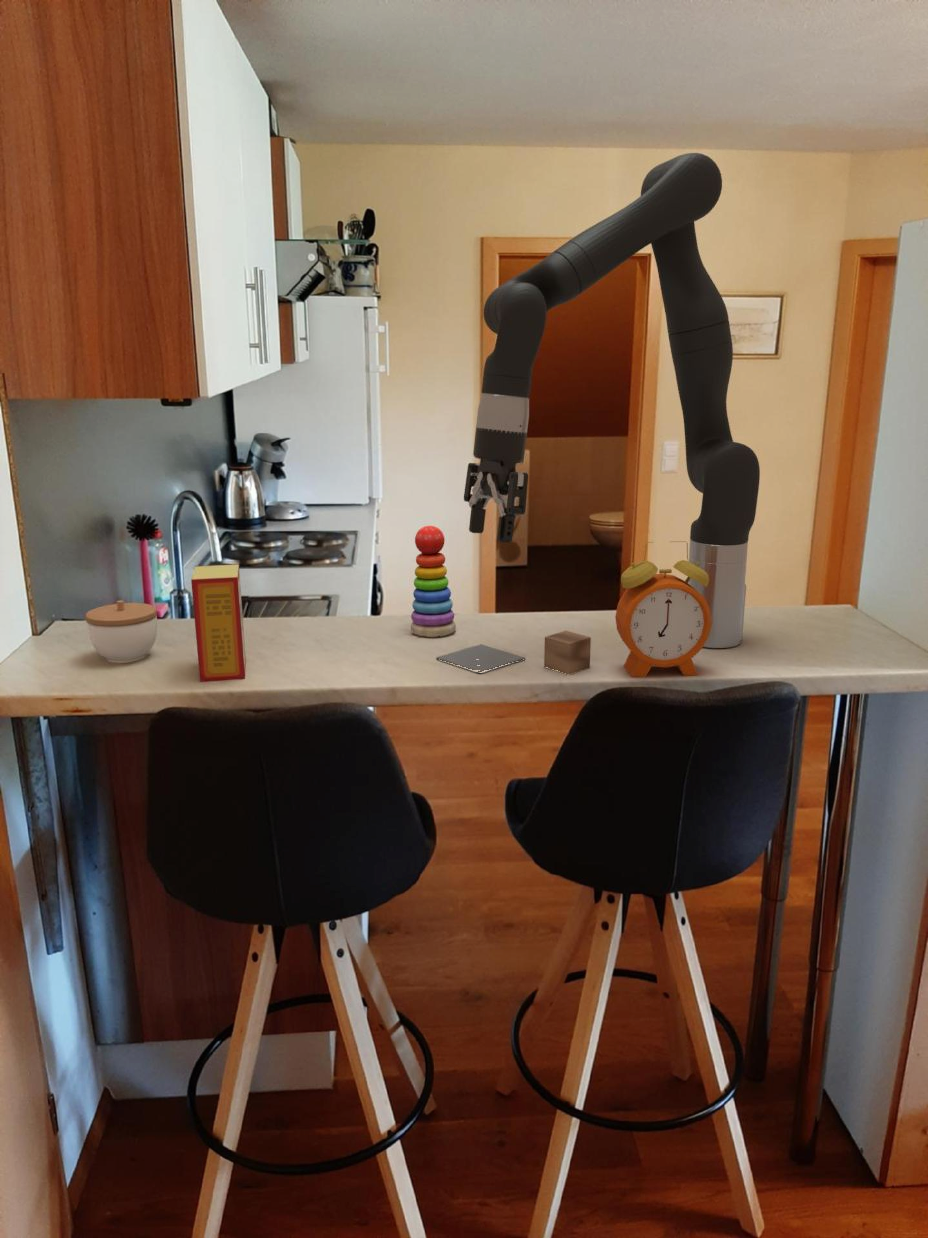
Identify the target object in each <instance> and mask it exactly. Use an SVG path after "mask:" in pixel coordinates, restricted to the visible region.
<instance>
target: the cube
mask: <svg viewBox="0 0 928 1238" xmlns="http://www.w3.org/2000/svg"><path fill="white" fill-rule="evenodd" d="M591 638H592V637H591V636H588V635H584V634H580V633H576V632H572V631H569V630H564V631H560V632H557V633H554V634H551V635H546V636H544V650H543V651H544V652H543V653H544V654H543V656H544V657H543V661H544V662H543V666H544V667H548V668H550V669H549V670H551V669H554V670H558V671H560V672H559V673H561V672H563V673H562V674H564V673H566V674H565V675H567V674H570V675H573V674H575V673H574V672H576V673H578V671H579V672H581V671H580V670H582V671H584V670H586V669H590V667H591V648H592V647H591V643H592V641H591V640H592V639H591ZM544 667H543V668H544ZM548 668H547V669H548ZM554 670H553V671H554ZM572 673H573V674H572Z"/></svg>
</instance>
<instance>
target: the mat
mask: <svg viewBox="0 0 928 1238" xmlns="http://www.w3.org/2000/svg"><path fill="white" fill-rule="evenodd" d="M435 657H436V658H435V660H436V659H440V660H442V661H446V662H449V663H453V664H455V665H460V666H462V667H466V668H468V669H472V670H480V671H478V672H482V671H484V670H489V669H493V668H495V667H499V666H501V665H505V664H508V663H512V662H516V661H520V662H522V661H521V660H523V659H525V660H526V657H524V656H521V655H518V654H516V653H512V652H508V651H505V650H501V649H498V648H495V647H491V646H488V645H485V644H483V643H481V644H478V645H473V646H470V647H466V648H464V649H459V650H457V651H453V652H450V653H446V654H442V655H439V656H435ZM476 659H479V660H476ZM442 661H441V662H442ZM523 661H524V660H523ZM477 665H480V666H477Z"/></svg>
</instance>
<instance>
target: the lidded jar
mask: <svg viewBox="0 0 928 1238" xmlns="http://www.w3.org/2000/svg"><path fill="white" fill-rule="evenodd" d="M157 615H158V610H157V608H156V606H154V605H153V604H148V603H141V602H140V603H139V602H124V600H117V601H116V603H114V604H106V605H102V606H99V607H95V608H93V609H90V610H88V611H87V612H86V613H85V615H84V616H85V621H86V624H87V631H88V635H89V640H90V642H91V644H92V646H93V648H94V649H95V651H96V652H97V654H99V655H101V656H102V657H103V658H105V660H106V661H107V662H109V663H111V664H126V663H134V662H138V661H140V660H143V659H145V657H147V654H148V652H149V651H151V649H152V648H153V646H154V645H155V642H156V640H157V635H158V634H157V633H158V617H157Z"/></svg>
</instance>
